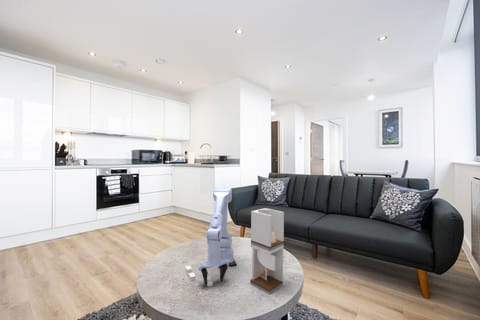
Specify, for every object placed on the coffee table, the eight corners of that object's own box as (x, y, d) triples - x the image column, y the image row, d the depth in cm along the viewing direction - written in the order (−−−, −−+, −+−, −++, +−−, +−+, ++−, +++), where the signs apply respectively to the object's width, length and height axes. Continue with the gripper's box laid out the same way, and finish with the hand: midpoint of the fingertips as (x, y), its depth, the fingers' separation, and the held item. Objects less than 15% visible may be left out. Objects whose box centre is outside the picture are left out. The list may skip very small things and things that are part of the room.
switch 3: (210, 281, 105) (210, 277, 105) (212, 285, 101) (212, 281, 101) (205, 282, 104) (205, 278, 104) (207, 286, 100) (207, 282, 100)
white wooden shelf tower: (250, 284, 106) (251, 211, 106) (264, 276, 113) (265, 208, 113) (269, 294, 98) (270, 215, 98) (282, 285, 105) (284, 212, 105)
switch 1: (189, 268, 117) (189, 265, 117) (191, 272, 113) (191, 268, 113) (185, 269, 116) (185, 266, 116) (186, 273, 112) (186, 269, 112)
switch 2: (193, 275, 110) (193, 272, 110) (195, 279, 106) (195, 276, 106) (188, 276, 109) (188, 273, 109) (190, 280, 105) (190, 277, 105)
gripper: (201, 259, 97) (200, 290, 97) (231, 254, 103) (231, 283, 103) (197, 253, 103) (196, 282, 103) (226, 248, 109) (225, 275, 109)
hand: (213, 282), depth 104 cm, fingers open, 7 cm apart
